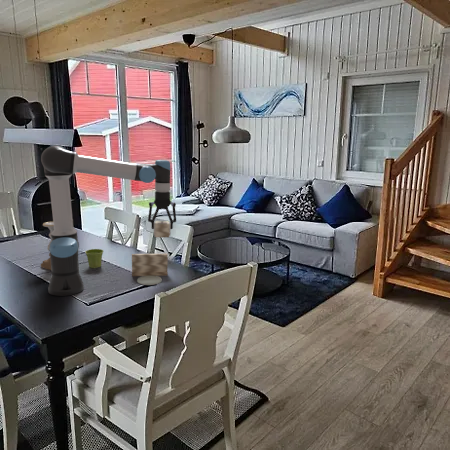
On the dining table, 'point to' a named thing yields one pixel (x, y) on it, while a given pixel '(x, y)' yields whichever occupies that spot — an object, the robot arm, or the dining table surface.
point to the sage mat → (149, 280)
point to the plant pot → (94, 257)
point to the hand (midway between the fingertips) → (162, 234)
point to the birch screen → (149, 264)
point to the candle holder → (47, 263)
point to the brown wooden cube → (161, 228)
